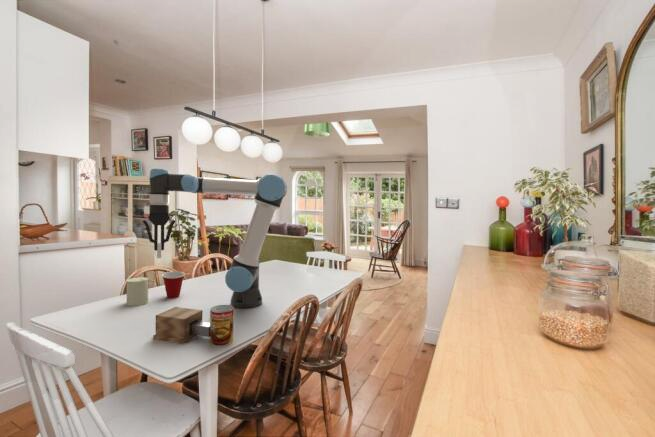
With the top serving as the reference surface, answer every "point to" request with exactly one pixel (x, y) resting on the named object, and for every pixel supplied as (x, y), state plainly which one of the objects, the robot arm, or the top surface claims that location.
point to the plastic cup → (173, 283)
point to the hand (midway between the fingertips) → (159, 257)
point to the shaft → (199, 328)
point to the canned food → (221, 325)
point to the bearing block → (176, 324)
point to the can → (137, 291)
